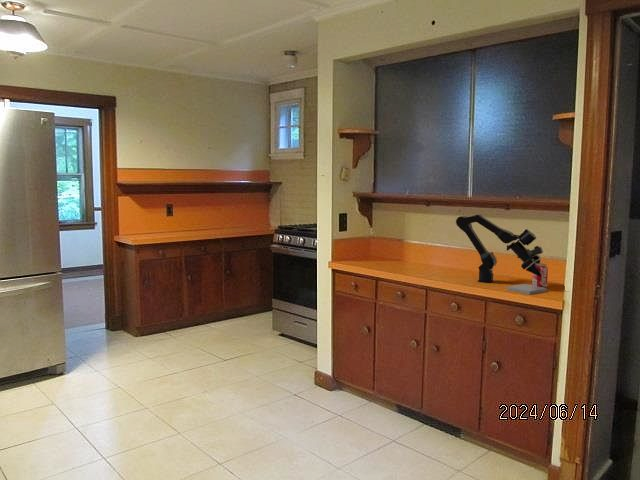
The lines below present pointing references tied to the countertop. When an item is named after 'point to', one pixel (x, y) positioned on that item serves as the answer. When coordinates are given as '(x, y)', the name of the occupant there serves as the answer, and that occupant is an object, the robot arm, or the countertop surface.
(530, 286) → the slate board
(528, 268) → the robot arm
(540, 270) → the soda can
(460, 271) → the countertop surface
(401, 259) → the countertop surface
